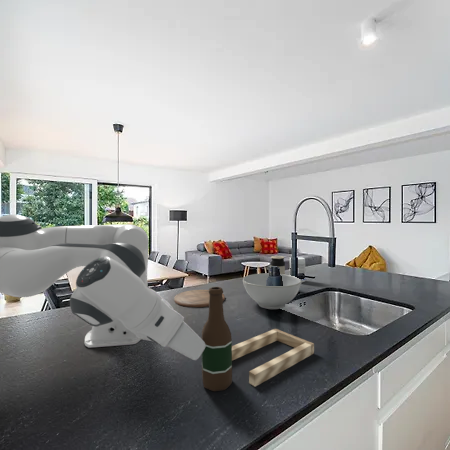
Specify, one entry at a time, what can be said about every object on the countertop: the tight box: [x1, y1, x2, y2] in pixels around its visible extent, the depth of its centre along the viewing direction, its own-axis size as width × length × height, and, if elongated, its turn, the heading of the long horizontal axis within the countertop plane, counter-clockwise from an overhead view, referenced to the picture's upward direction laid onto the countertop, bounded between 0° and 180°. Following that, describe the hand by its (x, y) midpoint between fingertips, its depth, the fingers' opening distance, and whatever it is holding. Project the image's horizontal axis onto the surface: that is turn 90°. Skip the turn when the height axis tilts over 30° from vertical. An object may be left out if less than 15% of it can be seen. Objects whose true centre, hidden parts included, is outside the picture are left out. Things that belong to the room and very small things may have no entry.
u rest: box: [232, 328, 315, 388], centre depth 83 cm, size 26×15×3 cm, turn 130°
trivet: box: [173, 289, 226, 308], centre depth 142 cm, size 25×25×2 cm
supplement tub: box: [289, 256, 307, 284], centre depth 177 cm, size 10×10×15 cm
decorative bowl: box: [242, 273, 302, 310], centre depth 131 cm, size 27×27×12 cm
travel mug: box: [270, 255, 286, 275], centre depth 161 cm, size 8×8×18 cm
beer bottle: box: [200, 286, 233, 392], centre depth 71 cm, size 8×8×24 cm
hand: (190, 347), depth 66 cm, fingers closed
